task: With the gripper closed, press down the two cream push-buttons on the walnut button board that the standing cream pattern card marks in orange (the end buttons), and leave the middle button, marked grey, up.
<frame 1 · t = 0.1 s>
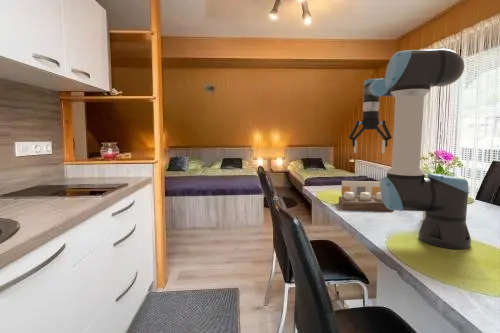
hand: (369, 153, 148), 28 cm above the table, tool pointing down, fingers open, 13 cm apart
milk bottle: (432, 221, 125), on the table
pattern card: (360, 203, 158), on the table
button board: (364, 207, 148), on the table
button 3: (349, 196, 149), point 5 cm above the table, slide at 0.0 cm
button 1: (381, 197, 147), point 5 cm above the table, slide at 0.0 cm
button 2: (365, 197, 148), point 5 cm above the table, slide at 0.0 cm
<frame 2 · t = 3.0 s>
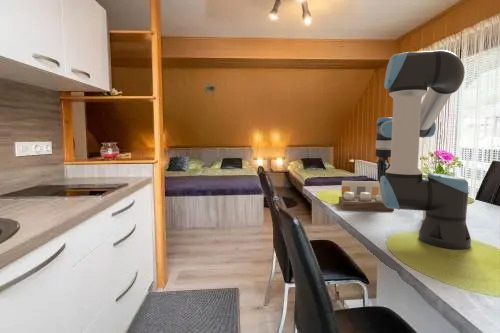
hand: (381, 195, 147), 6 cm above the table, tool pointing down, fingers closed
button 1: (381, 200, 147), point 4 cm above the table, slide at 1.3 cm, touching gripper
everything else where it was.
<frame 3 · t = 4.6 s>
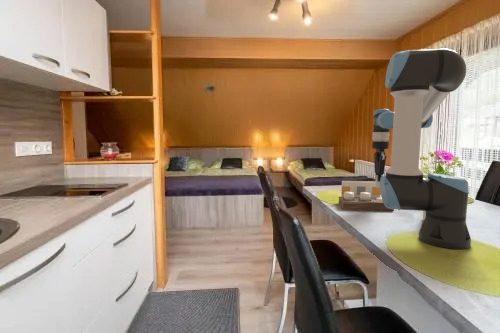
hand: (378, 187, 147), 10 cm above the table, tool pointing down, fingers closed
button 1: (381, 202, 147), point 3 cm above the table, slide at 2.7 cm
everything else where it was.
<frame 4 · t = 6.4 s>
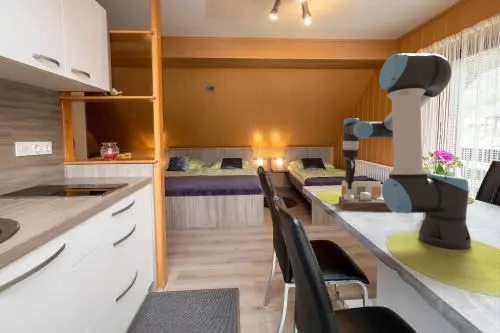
hand: (348, 194, 149), 6 cm above the table, tool pointing down, fingers closed
button 3: (348, 199, 149), point 4 cm above the table, slide at 1.5 cm, touching gripper
everything else where it was.
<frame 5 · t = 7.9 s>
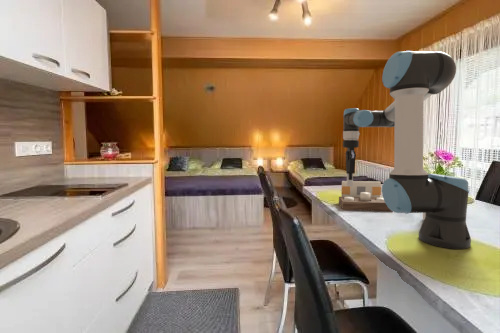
hand: (349, 185, 148), 11 cm above the table, tool pointing down, fingers closed
button 3: (348, 201, 149), point 3 cm above the table, slide at 2.7 cm
everything else where it was.
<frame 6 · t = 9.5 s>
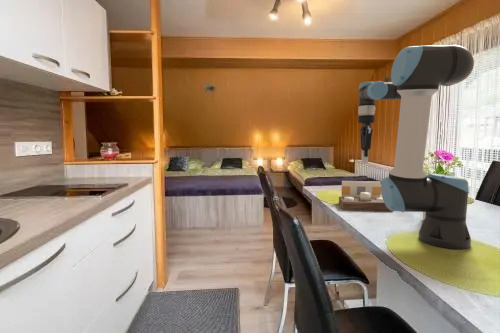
hand: (364, 163, 143), 23 cm above the table, tool pointing down, fingers closed
nothing on the table moved.
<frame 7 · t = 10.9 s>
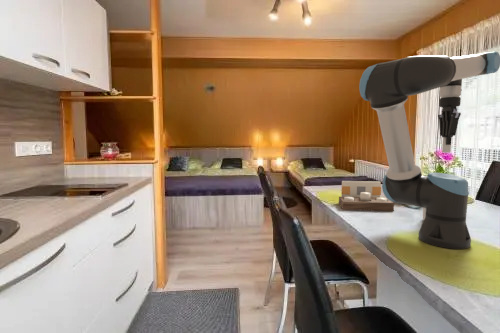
hand: (446, 152, 126), 29 cm above the table, tool pointing down, fingers closed
nothing on the table moved.
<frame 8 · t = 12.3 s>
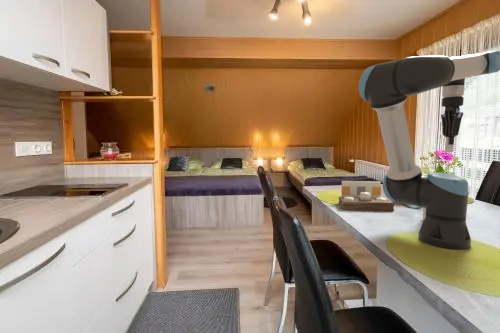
hand: (448, 152, 125), 29 cm above the table, tool pointing down, fingers closed
nothing on the table moved.
at the end: button 1 slide at 2.7 cm; button 3 slide at 2.7 cm; button 2 slide at 0.0 cm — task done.
